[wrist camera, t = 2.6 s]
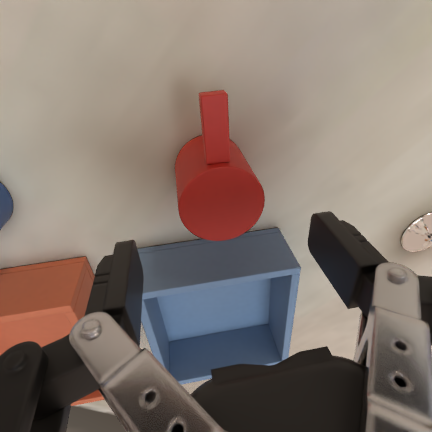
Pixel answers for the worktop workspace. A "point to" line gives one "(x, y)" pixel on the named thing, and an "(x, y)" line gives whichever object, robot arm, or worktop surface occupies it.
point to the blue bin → (219, 302)
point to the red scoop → (216, 178)
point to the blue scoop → (5, 205)
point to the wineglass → (418, 234)
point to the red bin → (44, 304)
